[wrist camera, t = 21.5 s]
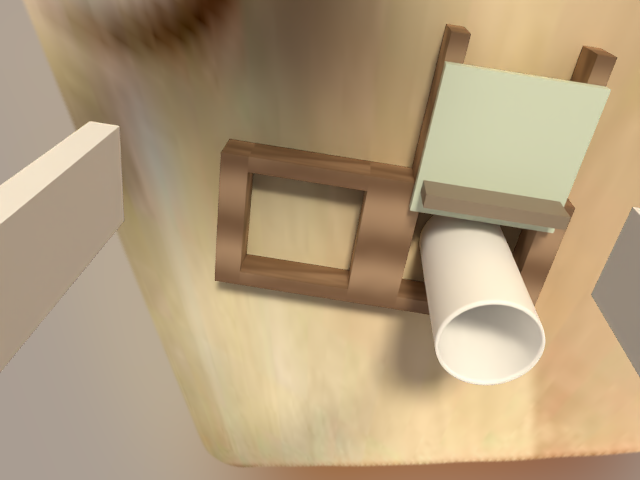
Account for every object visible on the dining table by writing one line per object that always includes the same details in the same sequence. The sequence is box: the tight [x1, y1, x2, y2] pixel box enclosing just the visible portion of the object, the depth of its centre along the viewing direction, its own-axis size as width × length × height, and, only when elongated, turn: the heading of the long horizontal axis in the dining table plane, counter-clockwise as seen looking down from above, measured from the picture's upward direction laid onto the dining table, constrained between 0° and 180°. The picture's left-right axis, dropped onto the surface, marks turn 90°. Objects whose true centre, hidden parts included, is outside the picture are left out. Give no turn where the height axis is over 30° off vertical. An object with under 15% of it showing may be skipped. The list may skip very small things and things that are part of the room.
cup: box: [419, 215, 545, 385], centre depth 49 cm, size 8×8×16 cm
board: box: [215, 24, 617, 315], centre depth 52 cm, size 27×32×4 cm
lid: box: [409, 61, 611, 233], centre depth 46 cm, size 13×13×4 cm
